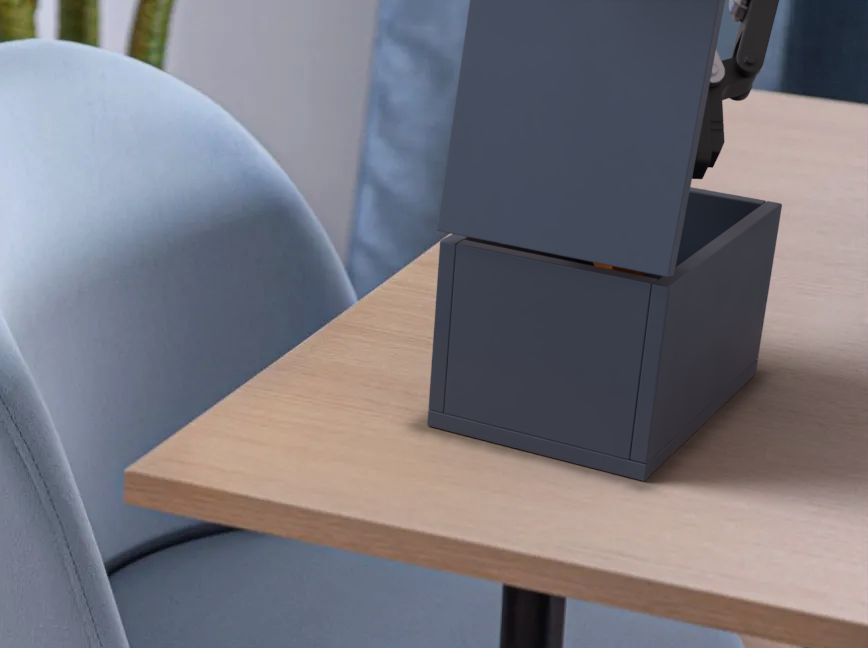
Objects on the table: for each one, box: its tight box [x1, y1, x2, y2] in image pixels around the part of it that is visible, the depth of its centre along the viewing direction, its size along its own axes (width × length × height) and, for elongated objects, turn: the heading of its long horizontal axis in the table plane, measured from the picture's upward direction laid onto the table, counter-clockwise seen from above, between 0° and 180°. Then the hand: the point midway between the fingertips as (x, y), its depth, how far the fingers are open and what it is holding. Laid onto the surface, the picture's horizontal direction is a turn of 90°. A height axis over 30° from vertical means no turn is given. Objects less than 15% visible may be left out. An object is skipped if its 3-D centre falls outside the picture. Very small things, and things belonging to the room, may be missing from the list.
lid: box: [436, 0, 726, 277], centre depth 70 cm, size 16×11×5 cm
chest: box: [426, 186, 783, 482], centre depth 83 cm, size 16×11×9 cm
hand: (640, 166), depth 79 cm, fingers closed on carrot, 4 cm apart
